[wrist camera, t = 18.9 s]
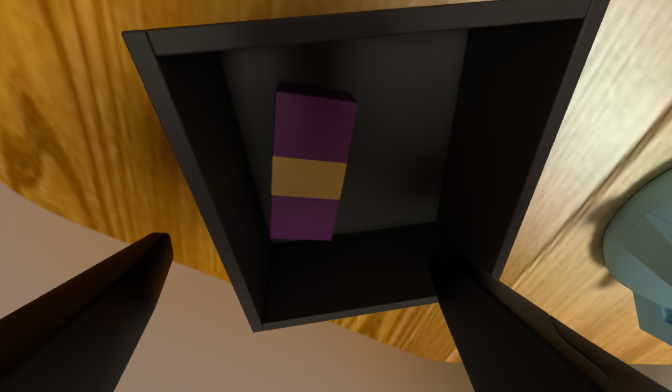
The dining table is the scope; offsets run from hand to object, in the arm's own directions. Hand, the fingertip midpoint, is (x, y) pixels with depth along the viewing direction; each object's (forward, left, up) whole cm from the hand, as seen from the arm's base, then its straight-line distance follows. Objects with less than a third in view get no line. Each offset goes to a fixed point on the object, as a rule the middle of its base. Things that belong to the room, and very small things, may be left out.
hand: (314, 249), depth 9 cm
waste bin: (+3, 0, -8) cm, 8 cm away
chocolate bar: (0, 0, -8) cm, 8 cm away
